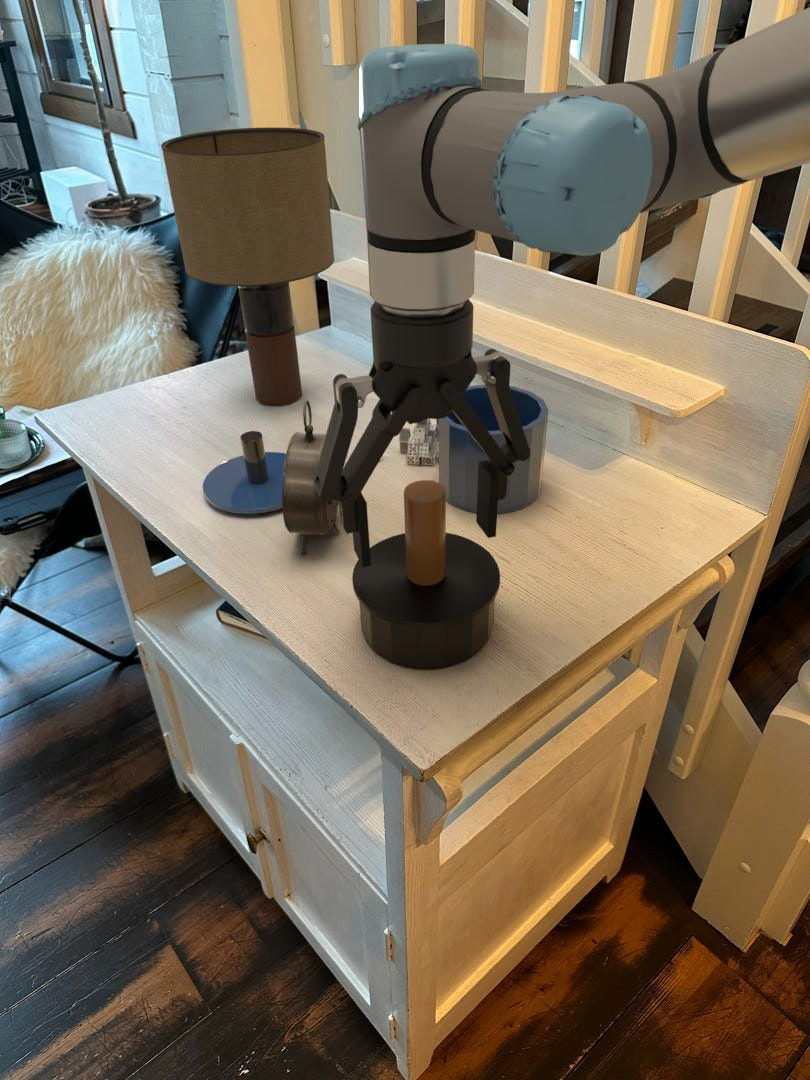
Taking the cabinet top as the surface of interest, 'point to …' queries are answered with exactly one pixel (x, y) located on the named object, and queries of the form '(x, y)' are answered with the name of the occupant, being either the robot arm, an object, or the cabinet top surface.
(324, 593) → the cabinet top surface
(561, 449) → the cabinet top surface
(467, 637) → the pan
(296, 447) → the alarm clock
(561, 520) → the cabinet top surface
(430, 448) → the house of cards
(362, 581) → the lid
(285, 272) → the lamp
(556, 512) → the cabinet top surface
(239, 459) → the pot lid
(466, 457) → the pot
